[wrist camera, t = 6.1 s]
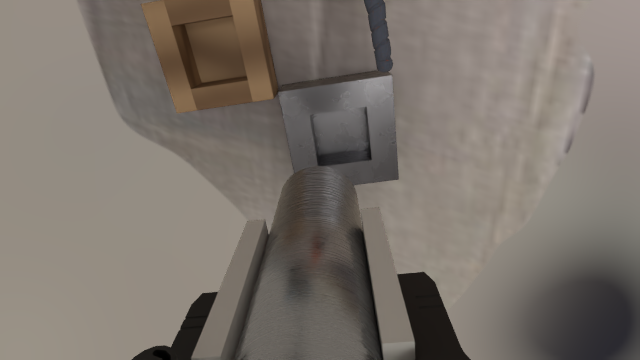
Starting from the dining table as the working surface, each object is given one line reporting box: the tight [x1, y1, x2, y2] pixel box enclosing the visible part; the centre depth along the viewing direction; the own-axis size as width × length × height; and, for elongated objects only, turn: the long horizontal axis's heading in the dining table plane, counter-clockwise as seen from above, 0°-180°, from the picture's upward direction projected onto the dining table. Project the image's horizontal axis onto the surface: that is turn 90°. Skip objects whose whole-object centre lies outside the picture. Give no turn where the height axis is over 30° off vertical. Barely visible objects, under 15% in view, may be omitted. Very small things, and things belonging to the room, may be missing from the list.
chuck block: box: [278, 70, 399, 185], centre depth 34 cm, size 10×10×4 cm
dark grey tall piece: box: [234, 166, 383, 360], centre depth 11 cm, size 7×5×15 cm, turn 8°
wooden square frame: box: [141, 0, 279, 113], centre depth 31 cm, size 9×9×4 cm
